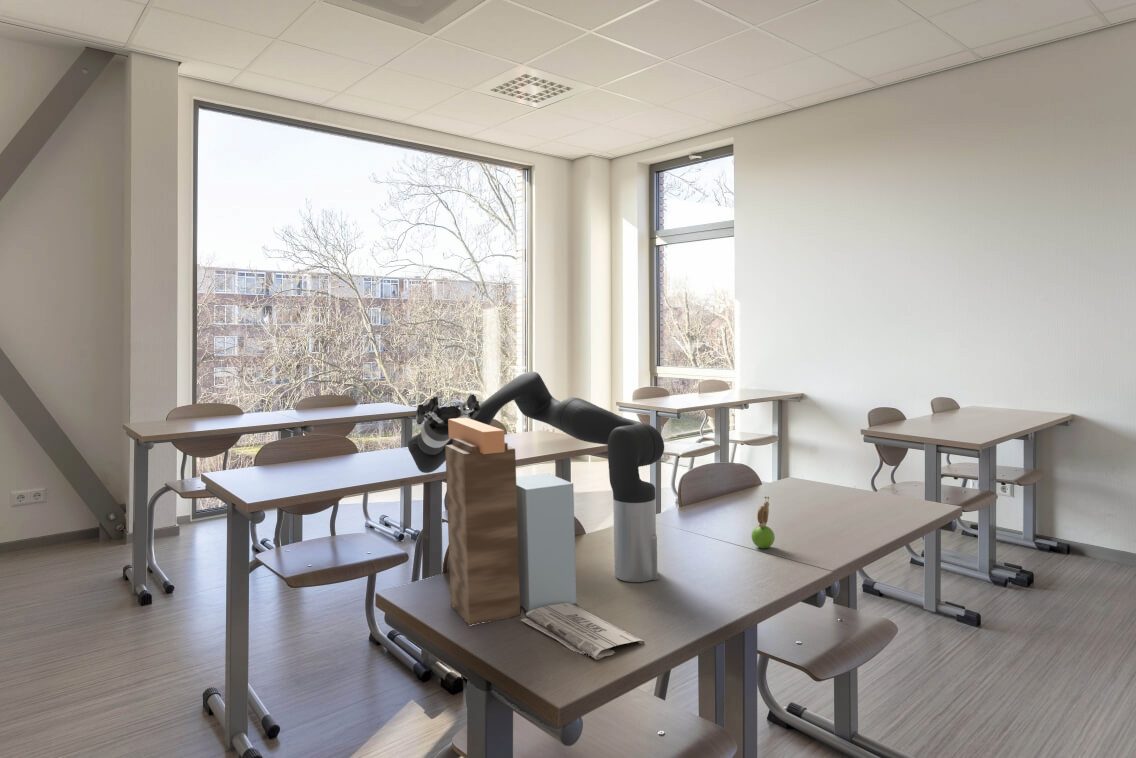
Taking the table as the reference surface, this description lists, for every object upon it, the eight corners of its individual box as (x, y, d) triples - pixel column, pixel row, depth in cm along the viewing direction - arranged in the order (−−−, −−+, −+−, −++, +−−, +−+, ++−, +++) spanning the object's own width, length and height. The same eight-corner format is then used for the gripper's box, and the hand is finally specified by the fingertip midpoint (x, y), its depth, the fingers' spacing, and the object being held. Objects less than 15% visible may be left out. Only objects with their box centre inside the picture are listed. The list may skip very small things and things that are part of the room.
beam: (448, 437, 146) (448, 419, 146) (467, 436, 147) (466, 417, 147) (483, 454, 124) (483, 432, 124) (504, 452, 126) (504, 430, 125)
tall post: (450, 604, 137) (445, 439, 135) (497, 594, 142) (492, 434, 140) (469, 626, 127) (463, 447, 125) (520, 615, 131) (515, 442, 129)
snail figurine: (778, 545, 170) (778, 497, 169) (771, 552, 165) (770, 503, 164) (756, 542, 173) (756, 495, 172) (748, 549, 168) (748, 500, 167)
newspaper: (517, 624, 129) (518, 610, 129) (570, 614, 136) (571, 601, 136) (590, 669, 110) (590, 653, 110) (647, 655, 117) (648, 640, 117)
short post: (507, 592, 143) (503, 478, 141) (550, 584, 147) (547, 473, 146) (529, 613, 132) (526, 489, 130) (576, 603, 136) (573, 483, 135)
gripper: (407, 415, 165) (421, 385, 152) (464, 411, 171) (482, 382, 158) (412, 444, 162) (426, 416, 149) (470, 439, 168) (488, 411, 155)
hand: (455, 398), depth 154 cm, fingers open, 8 cm apart
